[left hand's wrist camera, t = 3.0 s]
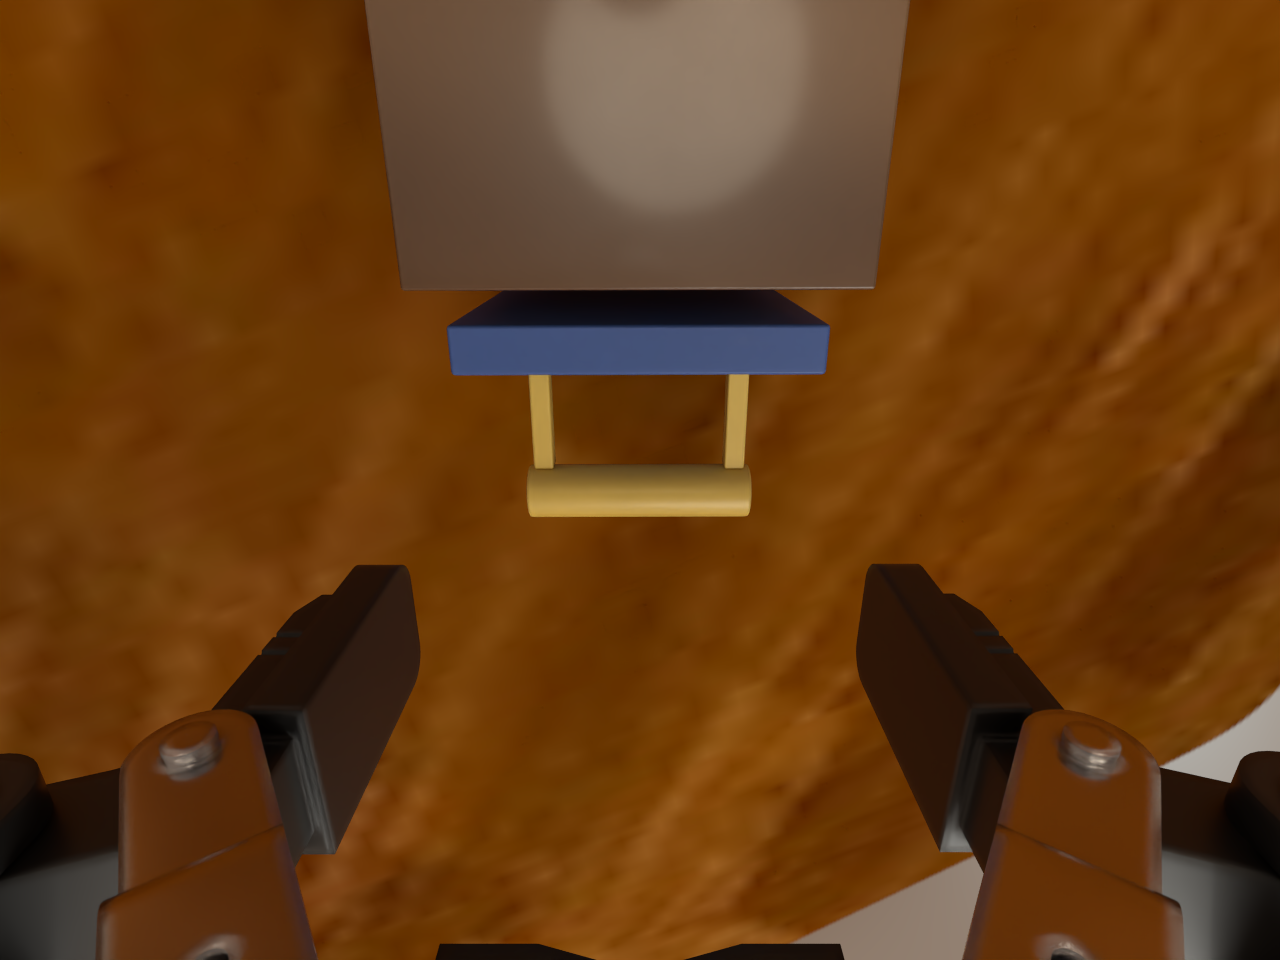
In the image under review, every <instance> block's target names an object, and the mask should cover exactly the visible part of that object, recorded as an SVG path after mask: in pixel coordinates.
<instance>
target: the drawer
mask: <svg viewBox="0 0 1280 960" xmlns="http://www.w3.org/2000/svg"><path fill="white" fill-rule="evenodd" d="M829 332H830V327H829V325H828V324H826V323H825V322H823V321H822V320H820V319H819V318H817V317H815V316H814V315H812V314H811V313H809V312H808V311H806V310H804V309H803V308H801V307H800V306H798V305H797V304H795V303H793V302H792V301H790V300H789V299H787V298H786V297H784V296H782V295H781V294H779V293H778V292H776V291H775V290H504V291H502V292H501V293H499V294H497V295H496V296H494V297H493V298H491V299H490V300H488V301H486V302H485V303H483V304H482V305H480V306H479V307H477V308H475V309H474V310H472V311H471V312H469V313H468V314H466V315H464V316H463V317H461V318H460V319H458V320H457V321H455V322H453V323H452V324H450V325H449V326H448V327H447V335H448V344H449V354H450V363H451V372H452V374H454V375H528V376H529V392H530V408H531V423H532V439H533V455H534V464H533V465H531V466H530V467H529V470H528V476H527V505H528V511H529V514H530V516H532V517H652V516H747V515H748V514H749V511H750V506H751V475H750V470H749V467H748V465H747V464H744V454H745V437H746V420H747V402H748V385H749V374H823V373H825V371H826V362H827V352H828V342H829ZM551 375H726V391H725V413H724V435H723V458H722V462H723V464H555V461H556V460H555V441H554V421H553V402H552V382H551Z"/></svg>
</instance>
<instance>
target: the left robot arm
mask: <svg viewBox="0 0 1280 960" xmlns="http://www.w3.org/2000/svg"><path fill="white" fill-rule="evenodd" d="M856 658H857V667H858V672H859V677H860V680H861V682H862V685H863V687H864V689H865V691H866V693H867V696H868V698H869V700H870V702H871V704H872V706H873V708H874V711H875V713H876V715H877V717H878V719H879V721H880V724H881V726H882V728H883V730H884V732H885V734H886V736H887V739H888V741H889V743H890V745H891V747H892V749H893V752H894V754H895V756H896V758H897V760H898V762H899V764H900V767H901V769H902V771H903V773H904V775H905V777H906V780H907V782H908V784H909V786H910V788H911V790H912V792H913V795H914V797H915V799H916V801H917V803H918V805H919V808H920V810H921V812H922V814H923V816H924V818H925V820H926V823H927V825H928V827H929V829H930V831H931V833H932V836H933V838H934V840H935V842H936V844H937V846H938V848H939V851H940V852H973V854H974V856H975V857H976V859H977V861H978V863H979V865H980V867H981V869H982V871H983V873H984V875H983V879H982V883H981V886H980V890H979V894H978V898H977V902H976V906H975V910H974V914H973V918H972V922H971V925H970V929H969V933H968V937H967V941H966V945H965V949H964V953H963V957H962V960H1280V752H1275V751H1258V752H1254V753H1250V754H1248V755H1246V756H1244V757H1243V758H1242V759H1241V761H1240V763H1239V765H1238V767H1237V770H1236V772H1235V775H1234V777H1233V779H1232V782H1231V783H1228V782H1223V781H1219V780H1214V779H1210V778H1205V777H1201V776H1196V775H1192V774H1187V773H1182V772H1178V771H1173V770H1169V769H1164V768H1160V767H1159V766H1158V764H1157V762H1156V760H1155V759H1154V757H1153V756H1152V754H1151V753H1150V752H1149V751H1148V750H1147V749H1146V748H1145V747H1144V746H1143V745H1142V744H1141V743H1140V742H1139V741H1138V740H1136V739H1135V738H1134V737H1132V736H1131V735H1129V734H1128V733H1127V732H1125V731H1123V730H1122V729H1120V728H1118V727H1116V726H1115V725H1113V724H1110V723H1108V722H1106V721H1104V720H1101V719H1099V718H1096V717H1094V716H1091V715H1087V714H1084V713H1080V712H1075V711H1070V710H1064V709H1063V708H1062V706H1061V705H1060V704H1059V703H1058V702H1057V700H1056V699H1055V698H1054V697H1053V696H1052V694H1051V693H1050V692H1049V691H1048V690H1047V689H1046V687H1045V686H1044V685H1043V684H1042V683H1041V681H1040V680H1039V679H1038V678H1037V677H1036V675H1035V674H1034V673H1033V672H1032V671H1031V670H1030V668H1029V667H1028V666H1027V665H1026V664H1025V662H1024V661H1023V660H1022V659H1021V658H1020V656H1019V655H1018V654H1014V653H1013V648H1012V647H1011V646H1010V645H1009V643H1008V642H1007V641H1006V640H1005V639H1004V637H1003V636H999V632H998V630H997V629H996V628H995V627H994V626H993V624H992V623H991V622H990V621H989V620H988V618H987V617H986V616H985V615H984V614H983V613H982V611H980V610H979V609H977V608H976V607H974V606H972V605H971V604H969V603H968V602H966V601H965V600H963V599H961V598H960V597H958V596H957V595H955V594H943V593H942V591H941V590H940V589H939V588H938V586H937V585H936V584H935V582H934V581H933V580H932V579H931V577H930V576H929V575H928V573H927V572H926V571H925V570H924V568H923V567H922V566H921V565H919V564H872V565H871V566H870V567H869V569H868V571H867V574H866V580H865V587H864V594H863V601H862V608H861V615H860V623H859V630H858V637H857V645H856ZM419 665H420V642H419V635H418V628H417V621H416V613H415V606H414V599H413V592H412V585H411V579H410V574H409V571H408V569H407V568H406V566H404V565H357V566H355V567H354V568H353V569H352V571H351V572H350V573H349V574H348V576H347V577H346V578H345V579H344V581H343V582H342V583H341V585H340V586H339V587H338V588H337V590H336V591H335V592H334V593H333V595H321V596H319V597H318V598H316V599H315V600H313V601H312V602H310V603H308V604H307V605H305V606H304V607H302V608H301V609H299V610H297V611H296V612H294V613H293V614H292V616H291V617H290V618H289V619H288V620H287V622H286V623H285V624H284V625H283V626H282V627H281V629H280V630H279V631H278V632H277V636H276V637H273V638H272V639H271V640H270V642H269V643H268V644H267V645H266V646H265V647H264V649H263V650H262V654H261V655H258V656H257V657H256V658H255V659H254V660H253V662H252V663H251V664H250V665H249V666H248V667H247V669H246V670H245V671H244V672H243V673H242V674H241V676H240V677H239V678H238V679H237V680H236V682H235V683H234V684H233V685H232V686H231V687H230V689H229V690H228V691H227V692H226V693H225V694H224V696H223V697H222V698H221V699H220V700H219V702H218V703H217V704H216V705H215V706H214V707H213V709H212V710H210V711H205V712H200V713H196V714H193V715H189V716H186V717H184V718H181V719H179V720H176V721H174V722H172V723H170V724H167V725H165V726H164V727H162V728H160V729H158V730H157V731H155V732H153V733H152V734H151V735H149V736H148V737H146V738H145V739H144V740H142V741H141V742H140V743H139V744H138V745H137V746H136V747H135V748H134V749H133V750H132V751H131V752H130V753H129V754H128V756H127V757H126V759H125V760H124V762H123V764H122V766H121V768H118V769H115V770H111V771H106V772H102V773H97V774H93V775H88V776H84V777H79V778H74V779H70V780H65V781H61V782H56V783H52V784H47V785H46V783H45V781H44V779H43V776H42V774H41V771H40V769H39V767H38V764H37V763H36V762H35V760H34V759H32V758H30V757H28V756H26V755H22V754H11V753H8V754H0V960H318V957H317V953H316V949H315V945H314V941H313V937H312V933H311V929H310V925H309V922H308V918H307V914H306V910H305V906H304V902H303V898H302V894H301V890H300V886H299V883H298V879H297V875H296V871H295V867H296V865H297V863H298V861H299V859H300V857H301V855H302V854H335V853H336V851H337V848H338V846H339V844H340V842H341V840H342V838H343V836H344V834H345V831H346V829H347V827H348V825H349V823H350V821H351V819H352V817H353V814H354V812H355V810H356V808H357V806H358V804H359V802H360V800H361V797H362V795H363V793H364V791H365V789H366V787H367V785H368V783H369V780H370V778H371V776H372V774H373V772H374V770H375V768H376V766H377V763H378V761H379V759H380V757H381V755H382V753H383V751H384V749H385V746H386V744H387V742H388V740H389V738H390V736H391V734H392V732H393V729H394V727H395V725H396V723H397V721H398V719H399V717H400V715H401V712H402V710H403V708H404V706H405V704H406V702H407V700H408V698H409V695H410V693H411V691H412V689H413V687H414V685H415V682H416V679H417V676H418V671H419ZM436 960H595V959H591V958H587V957H584V956H580V955H577V954H573V953H569V952H566V951H562V950H559V949H555V948H551V947H548V946H544V945H541V944H440V945H439V949H438V953H437V956H436ZM685 960H844V956H843V953H842V949H841V945H840V944H739V945H736V946H732V947H729V948H725V949H721V950H718V951H714V952H711V953H707V954H703V955H700V956H696V957H693V958H689V959H685Z"/></svg>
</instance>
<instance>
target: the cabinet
mask: <svg viewBox="0 0 1280 960" xmlns="http://www.w3.org/2000/svg"><path fill="white" fill-rule="evenodd" d="M364 1H365V9H366V17H367V25H368V33H369V40H370V48H371V56H372V64H373V72H374V80H375V87H376V95H377V103H378V111H379V119H380V127H381V134H382V142H383V150H384V158H385V166H386V173H387V181H388V189H389V197H390V205H391V213H392V220H393V228H394V236H395V244H396V252H397V260H398V267H399V275H400V283H401V288H402V290H404V291H483V290H872V289H874V288H875V285H876V277H877V268H878V260H879V252H880V244H881V235H882V227H883V219H884V211H885V202H886V194H887V186H888V178H889V169H890V161H891V153H892V145H893V136H894V128H895V120H896V112H897V103H898V95H899V87H900V79H901V70H902V62H903V54H904V46H905V37H906V29H907V21H908V13H909V4H910V0H364Z"/></svg>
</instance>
